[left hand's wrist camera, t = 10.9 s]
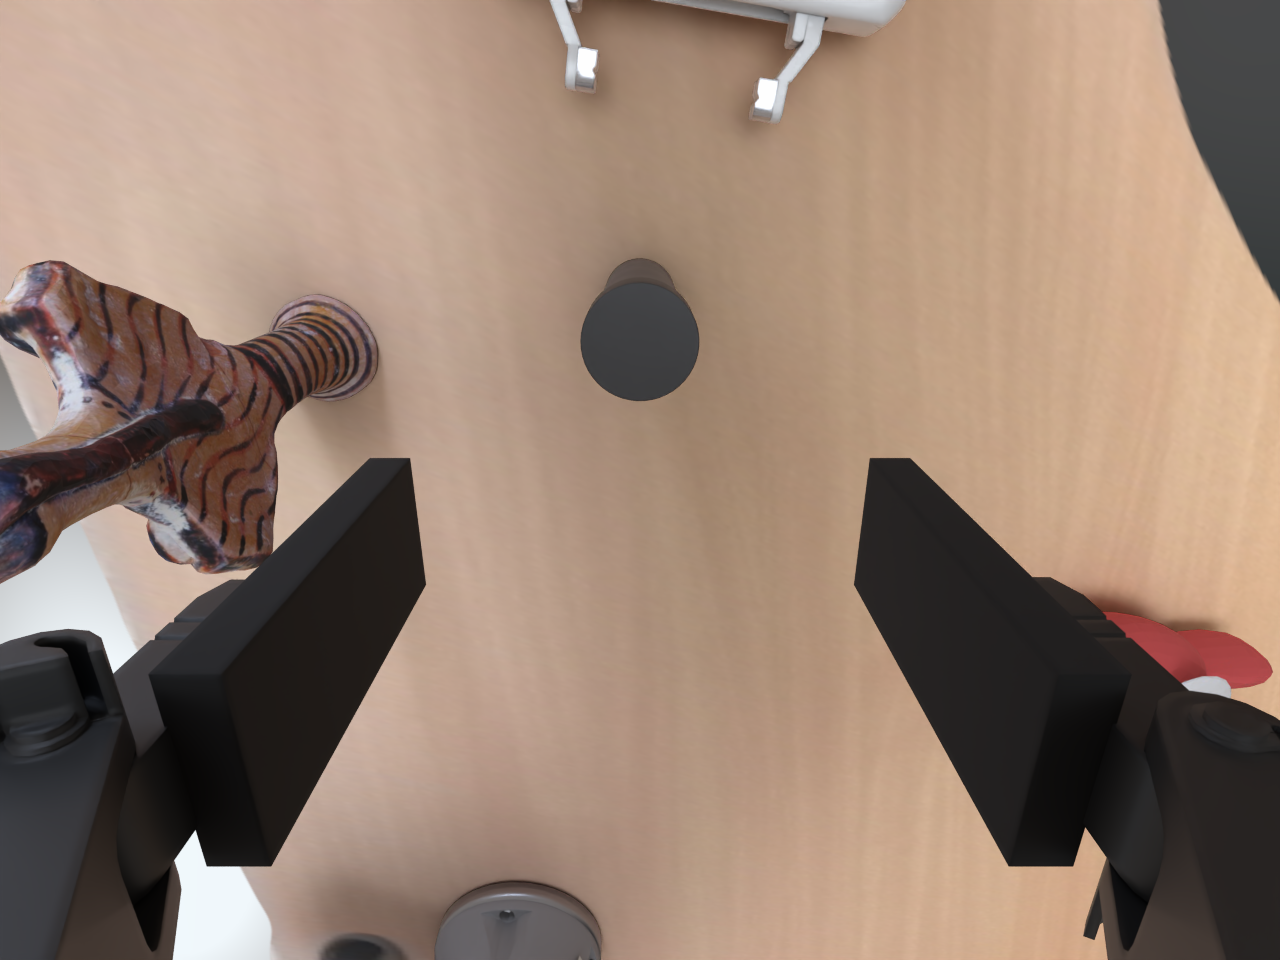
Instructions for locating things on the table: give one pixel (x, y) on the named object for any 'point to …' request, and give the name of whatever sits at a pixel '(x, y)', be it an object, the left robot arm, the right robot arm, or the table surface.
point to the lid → (639, 339)
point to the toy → (1198, 655)
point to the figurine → (163, 416)
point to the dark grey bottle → (639, 272)
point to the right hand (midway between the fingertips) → (672, 106)
